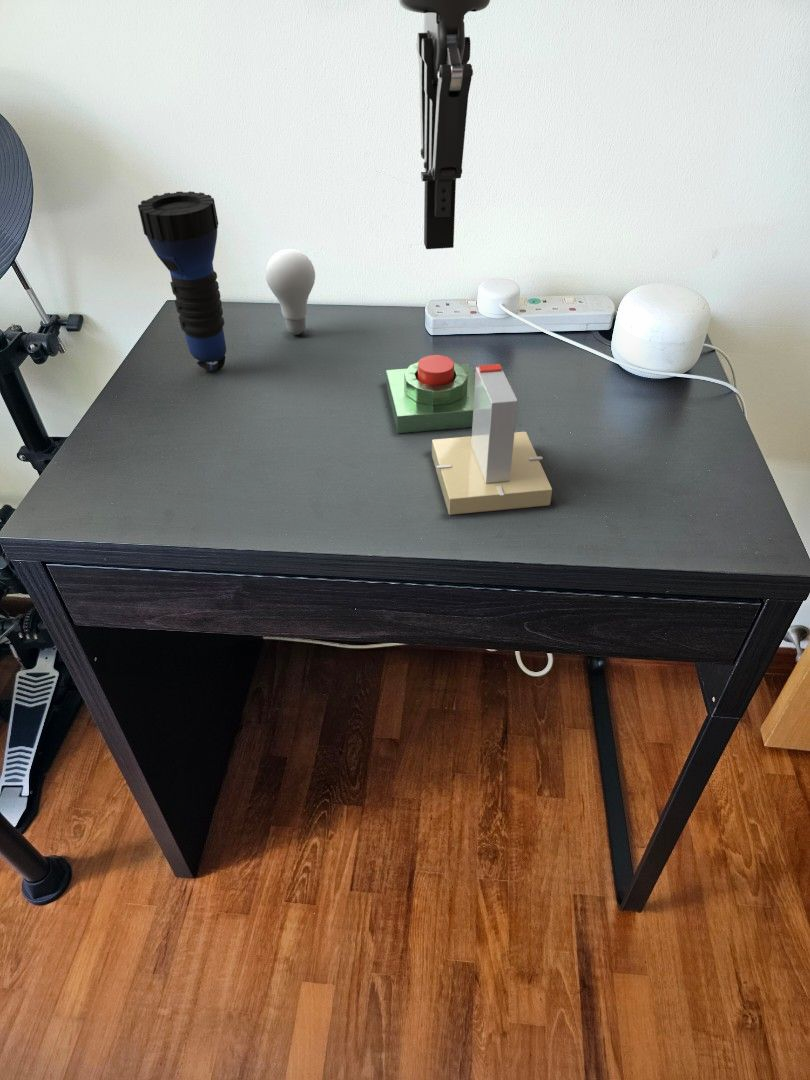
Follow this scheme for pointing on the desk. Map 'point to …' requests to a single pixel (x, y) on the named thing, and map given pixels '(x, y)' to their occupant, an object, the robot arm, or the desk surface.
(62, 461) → the desk surface
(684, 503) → the desk surface
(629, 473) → the desk surface
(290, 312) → the lightbulb
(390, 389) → the control block
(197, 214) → the flashlight
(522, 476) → the panel
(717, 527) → the desk surface
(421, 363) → the stop button
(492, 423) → the tap handle
